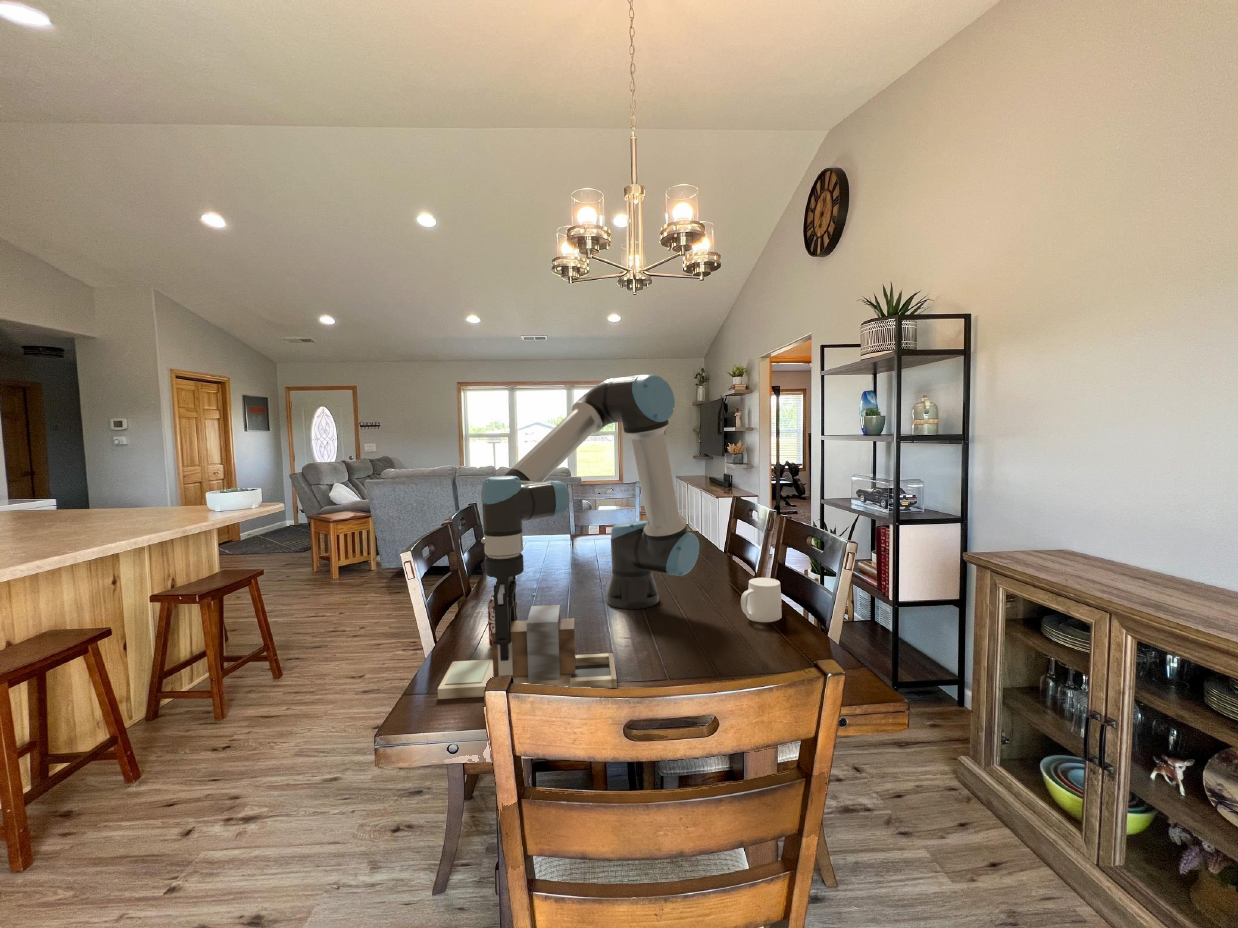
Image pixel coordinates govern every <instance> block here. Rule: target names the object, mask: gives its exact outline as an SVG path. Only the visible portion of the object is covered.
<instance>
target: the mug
mask: <svg viewBox="0 0 1238 928" xmlns="http://www.w3.org/2000/svg"><path fill="white" fill-rule="evenodd" d="M781 587H782V586H781V582H780V581H779V580H778V579H775V578H771V577H756V578H755V577H754V578H751V579H749V580H748V589H747V590H744V592H743V593H742V594H741V598H740V607H741V610H742V612H743V613H744V615H746V617H747V619H748V620H750V621H752V622H756V623H772V622H776V621H779V620H780V619H782V617H783V615H782V610H783V608H782V605H783V603H782V600H783V599H782V591H781Z"/></svg>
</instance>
